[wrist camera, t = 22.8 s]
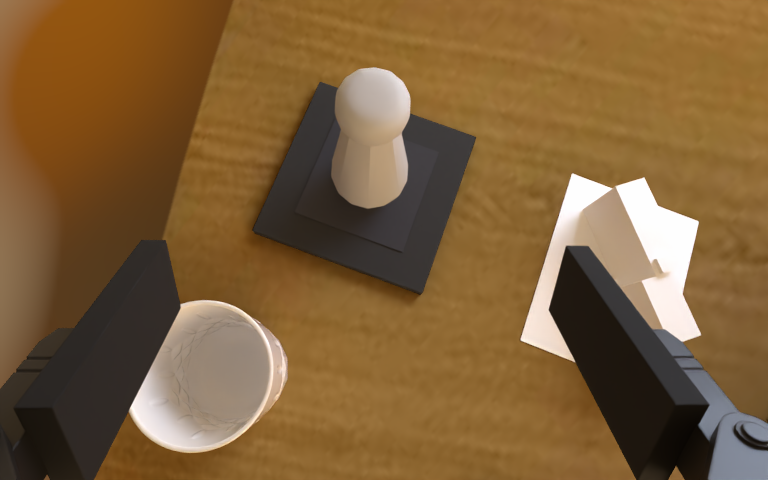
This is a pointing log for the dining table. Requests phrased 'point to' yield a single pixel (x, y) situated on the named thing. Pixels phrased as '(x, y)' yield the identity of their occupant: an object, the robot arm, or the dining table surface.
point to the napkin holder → (620, 257)
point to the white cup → (209, 379)
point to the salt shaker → (371, 138)
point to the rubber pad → (357, 224)
